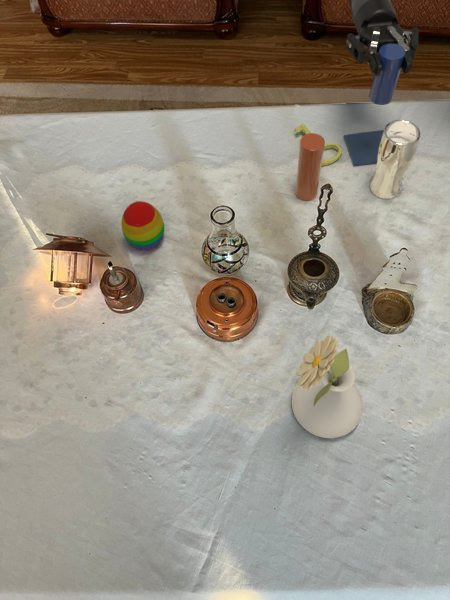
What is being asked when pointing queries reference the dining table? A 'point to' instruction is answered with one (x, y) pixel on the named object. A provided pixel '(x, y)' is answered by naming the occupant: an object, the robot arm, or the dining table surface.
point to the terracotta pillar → (309, 166)
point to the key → (326, 146)
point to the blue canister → (387, 74)
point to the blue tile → (363, 147)
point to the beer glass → (394, 157)
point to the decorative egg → (142, 225)
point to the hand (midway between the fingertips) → (393, 70)
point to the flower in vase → (327, 392)
